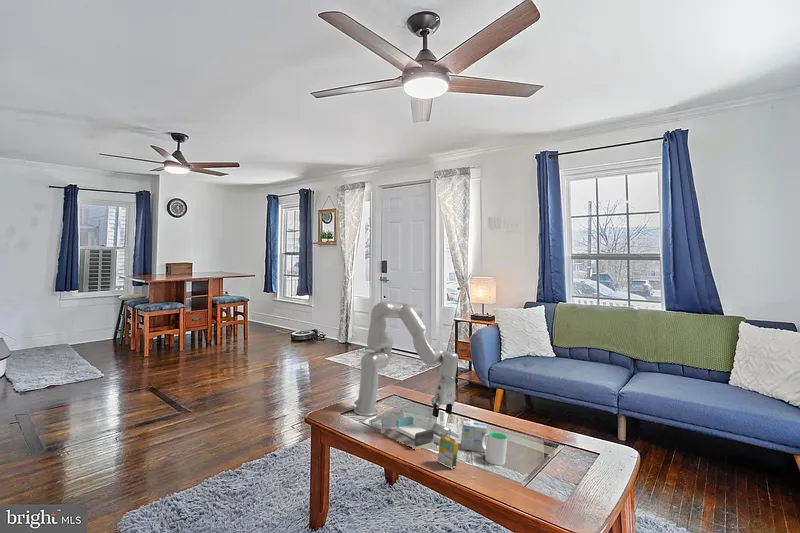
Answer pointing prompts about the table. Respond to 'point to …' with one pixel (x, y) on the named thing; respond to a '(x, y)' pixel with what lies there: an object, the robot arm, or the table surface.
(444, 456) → the crayon box
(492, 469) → the table surface
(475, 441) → the light bulb box
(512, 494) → the table surface
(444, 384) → the robot arm
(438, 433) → the loose roller
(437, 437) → the roller rack
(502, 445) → the mug
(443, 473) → the table surface
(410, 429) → the toy bed
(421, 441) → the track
